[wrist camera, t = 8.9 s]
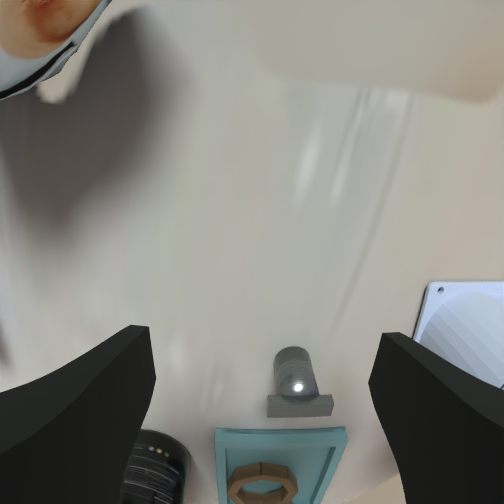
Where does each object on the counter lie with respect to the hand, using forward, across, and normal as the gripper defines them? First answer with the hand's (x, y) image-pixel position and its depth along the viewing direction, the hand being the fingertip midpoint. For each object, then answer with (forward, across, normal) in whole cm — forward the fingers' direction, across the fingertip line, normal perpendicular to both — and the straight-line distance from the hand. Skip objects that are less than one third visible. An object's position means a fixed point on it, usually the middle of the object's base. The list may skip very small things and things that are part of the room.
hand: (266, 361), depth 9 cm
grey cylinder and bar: (+9, -2, +7) cm, 12 cm away
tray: (+9, -2, +21) cm, 23 cm away
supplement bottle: (+10, +8, +18) cm, 22 cm away
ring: (+8, -2, +23) cm, 24 cm away
